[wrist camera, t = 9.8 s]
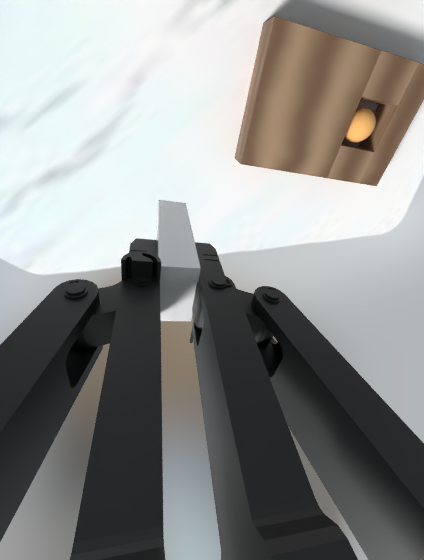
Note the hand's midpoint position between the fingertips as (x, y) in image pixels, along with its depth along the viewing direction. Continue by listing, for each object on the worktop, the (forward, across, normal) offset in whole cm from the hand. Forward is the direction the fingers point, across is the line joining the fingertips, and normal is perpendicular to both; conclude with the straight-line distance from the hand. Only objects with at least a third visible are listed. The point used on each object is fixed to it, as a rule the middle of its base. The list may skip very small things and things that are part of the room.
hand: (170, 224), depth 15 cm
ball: (+22, +26, +7) cm, 35 cm away
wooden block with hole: (+24, +21, +7) cm, 33 cm away
